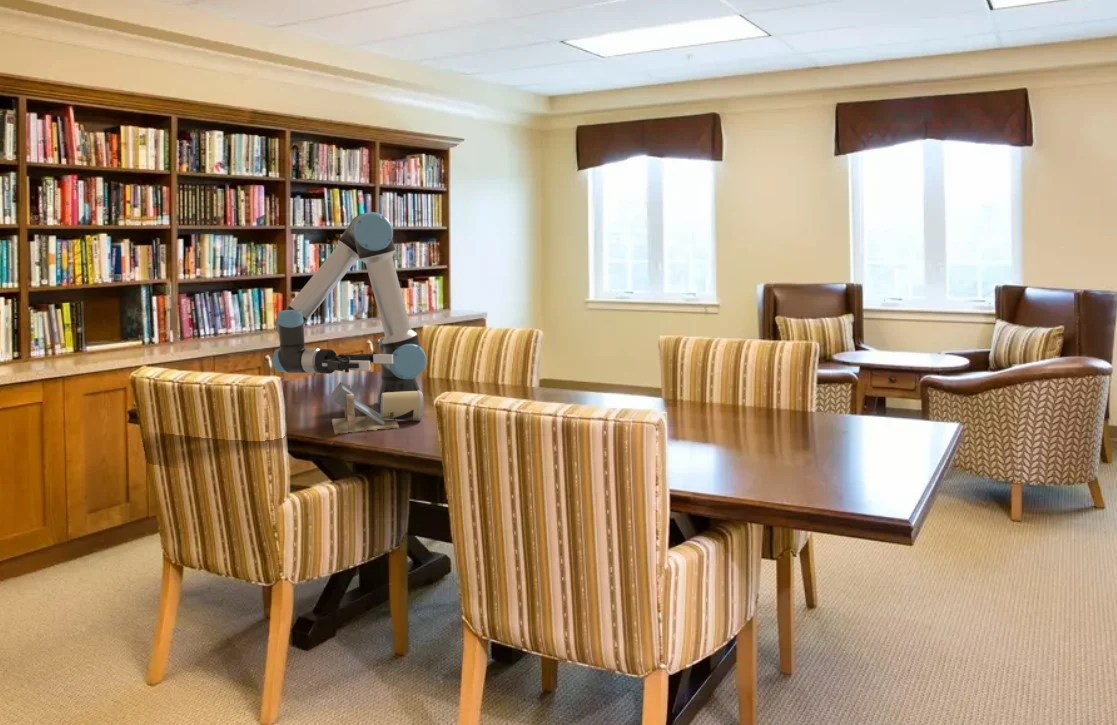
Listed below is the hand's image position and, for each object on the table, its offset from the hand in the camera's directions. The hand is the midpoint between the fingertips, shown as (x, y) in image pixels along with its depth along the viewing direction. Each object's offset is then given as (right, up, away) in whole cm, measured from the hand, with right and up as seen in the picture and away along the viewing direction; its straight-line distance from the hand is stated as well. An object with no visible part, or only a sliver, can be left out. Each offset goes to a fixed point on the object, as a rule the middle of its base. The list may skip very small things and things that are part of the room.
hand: (381, 362), depth 274 cm
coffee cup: (-1, -13, +3) cm, 13 cm away
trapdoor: (-8, -15, +2) cm, 17 cm away
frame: (-6, -19, +3) cm, 20 cm away
